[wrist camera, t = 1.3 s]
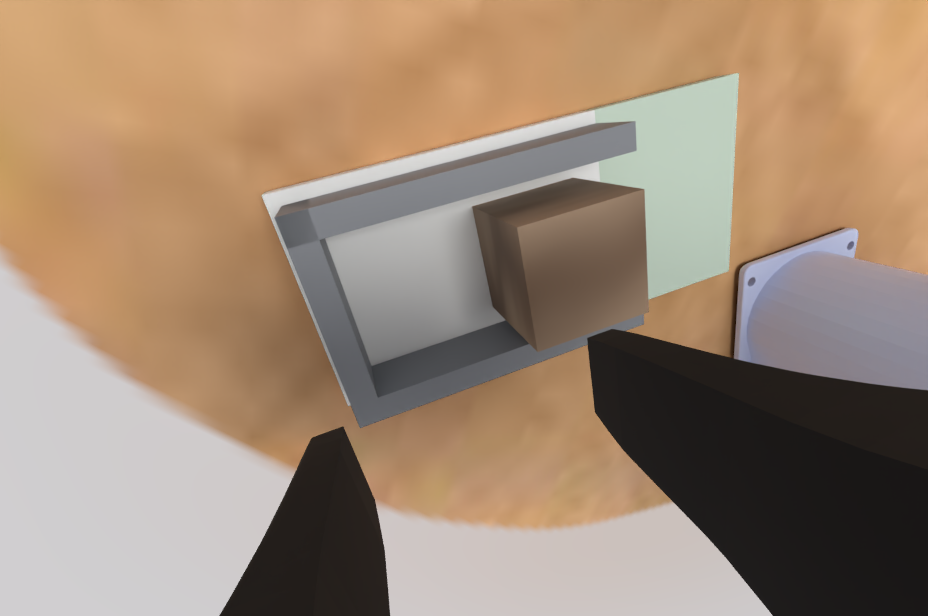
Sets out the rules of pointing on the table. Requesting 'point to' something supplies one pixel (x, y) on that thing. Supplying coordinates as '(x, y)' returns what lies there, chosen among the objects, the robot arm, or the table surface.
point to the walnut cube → (565, 258)
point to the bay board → (458, 249)
